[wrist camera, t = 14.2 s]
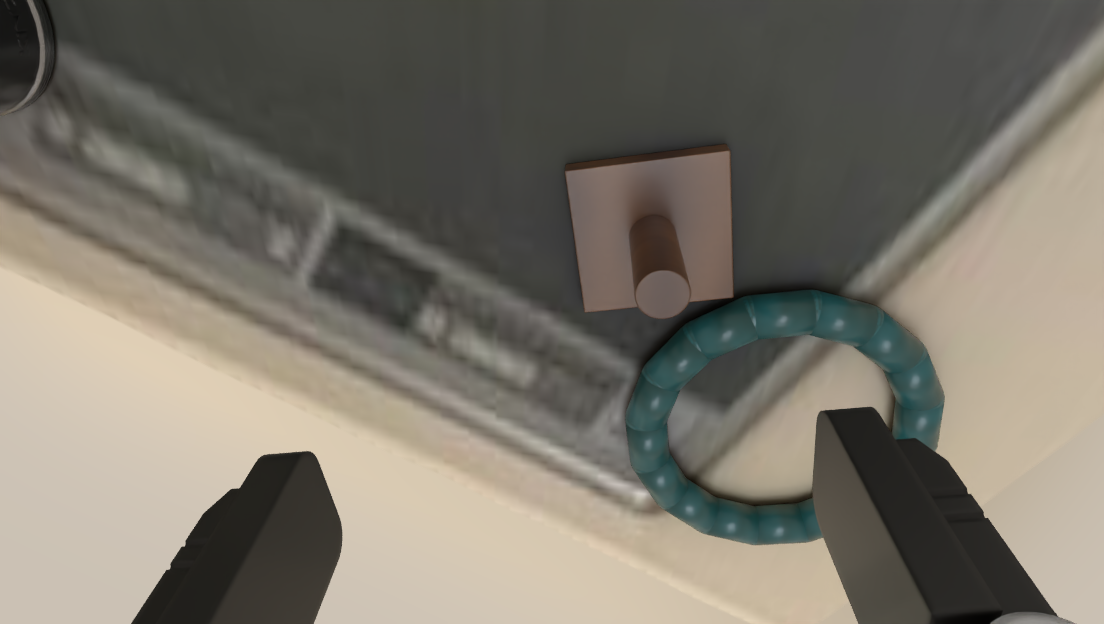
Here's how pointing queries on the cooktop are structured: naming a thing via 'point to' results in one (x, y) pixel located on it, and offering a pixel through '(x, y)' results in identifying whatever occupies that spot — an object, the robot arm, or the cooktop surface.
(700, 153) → the ring toss
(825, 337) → the ring
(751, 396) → the cooktop surface
